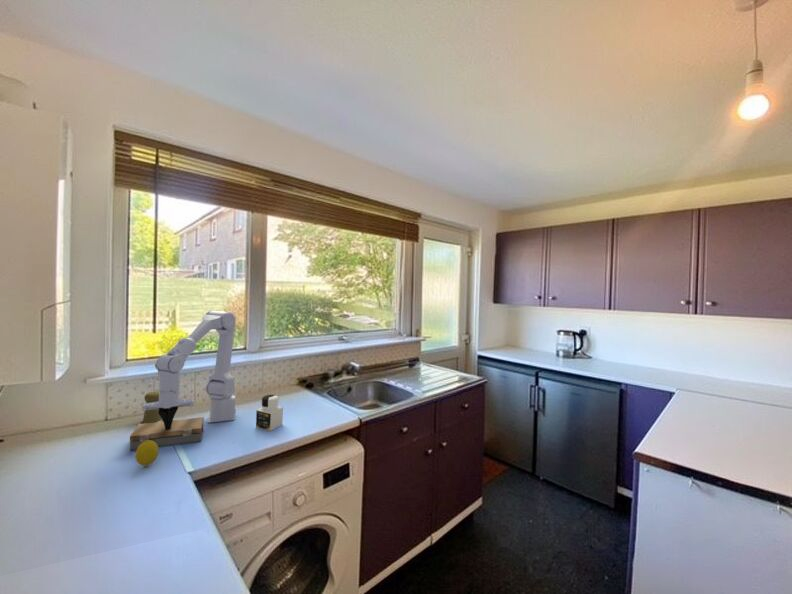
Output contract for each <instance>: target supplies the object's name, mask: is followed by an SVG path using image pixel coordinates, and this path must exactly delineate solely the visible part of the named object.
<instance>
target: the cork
mask: <svg viewBox="0 0 792 594" xmlns="http://www.w3.org/2000/svg"><path fill="white" fill-rule="evenodd" d="M144 401H145V403H152V402H158V401H159V391H150V392H148V393H146V394H145V395H144ZM158 412H159V409H153V410H146V411H143V418H142V424H145V423H154V422H161V420H162V418H161V417H160V415H159V413H158Z"/></svg>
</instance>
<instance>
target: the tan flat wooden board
mask: <svg viewBox="0 0 792 594" xmlns="http://www.w3.org/2000/svg"><path fill="white" fill-rule="evenodd" d="M204 420H205V417H204V416H202V417H195V418H193V417H192V418H184V419H176V420H175V419H173V421H172V425H171V429H169V430H165V425H164V422H163V421H158V422H154V423H138V424H137V426H136V427H135V429H134V430H133V431H132V433H131V434H130V435H129V442H131V441H136V440H140V442H144V441H146V440H149V439H152V438H160V437H168V436H176V435H183V436H191V435H192V434H193V433H201V430H202V426H203V422H204V423H205V421H204Z"/></svg>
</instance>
